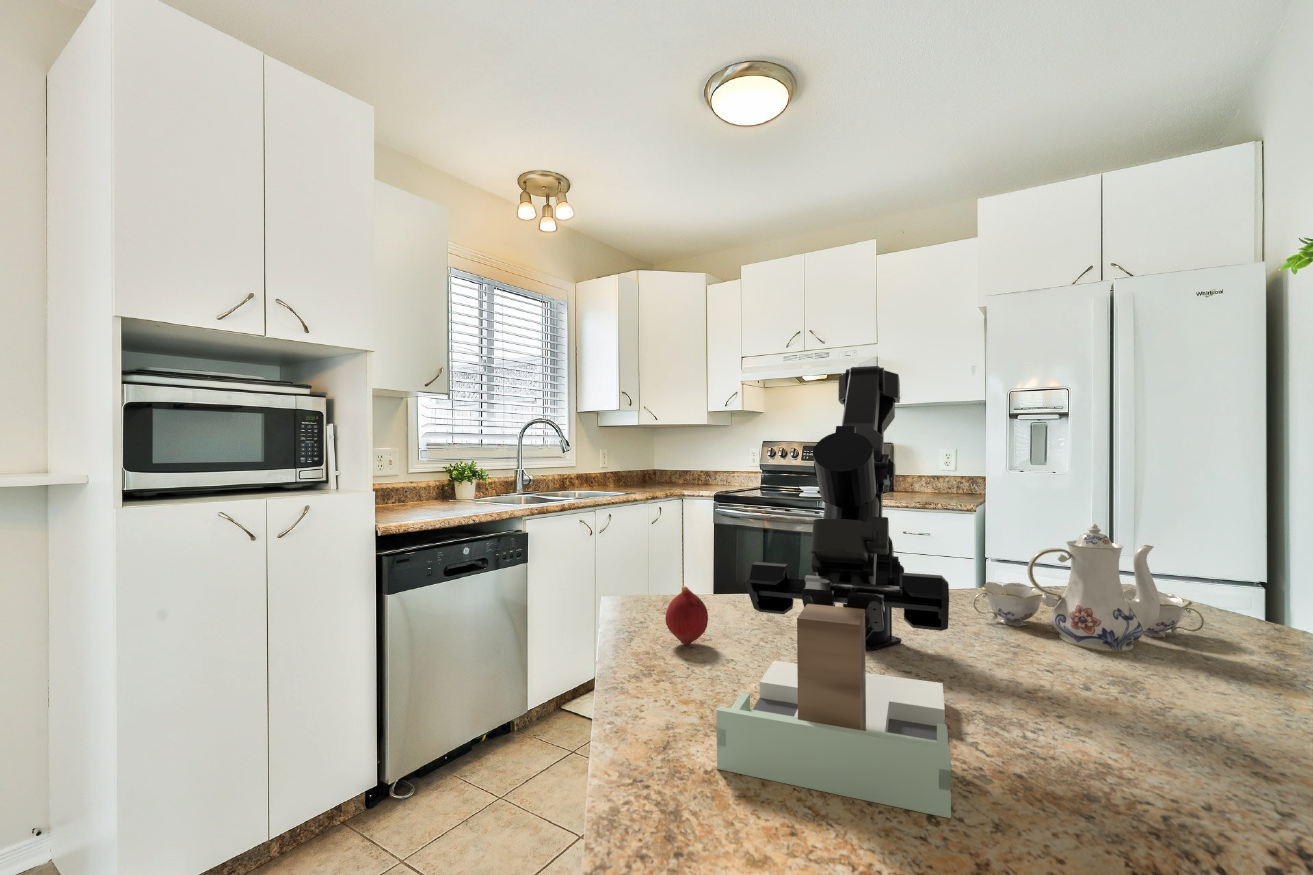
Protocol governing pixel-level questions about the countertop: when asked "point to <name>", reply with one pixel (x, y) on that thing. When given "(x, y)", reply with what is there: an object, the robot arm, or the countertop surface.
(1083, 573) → the chinaware
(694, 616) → the onion
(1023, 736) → the countertop surface
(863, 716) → the walnut block
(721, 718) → the box
